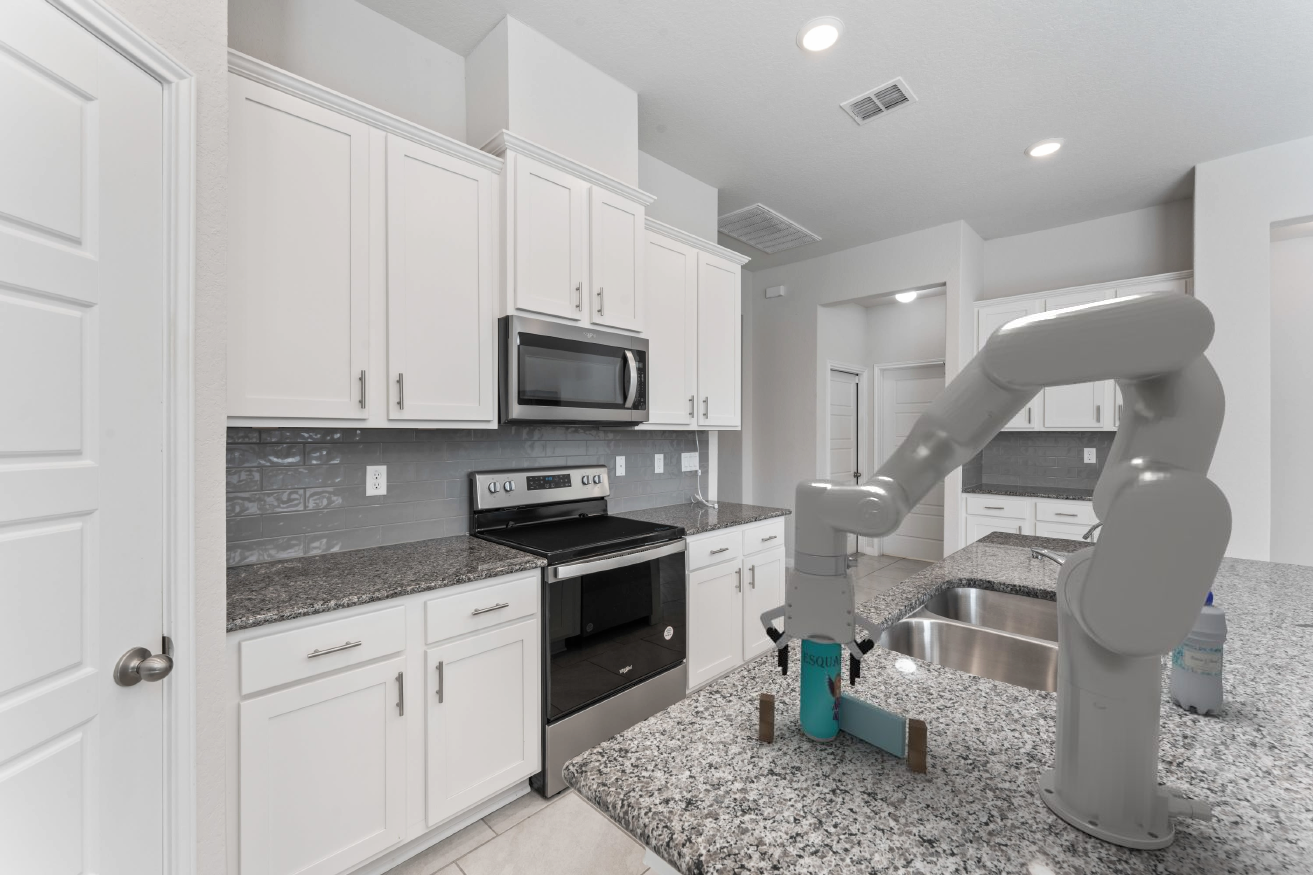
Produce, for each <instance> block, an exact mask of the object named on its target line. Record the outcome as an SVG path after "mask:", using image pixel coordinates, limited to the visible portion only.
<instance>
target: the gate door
mask: <svg viewBox="0 0 1313 875" xmlns="http://www.w3.org/2000/svg"><path fill="white" fill-rule="evenodd" d="M840 729H841V730H843V731H845V732H846V733H849V734H850V735H852V736H855V737H857V738H858V739H861V740H862V741H866V742H867V743H870V744H871V745H873V746H876V747H878V748H880V749H882V750H883V751H885V752H888V753H889V754H892V755H894V756H897V757H898V758H900V759H902V758H904V756H906V747H907V745H906V742H907V738H906V737H907V718H904V717H902V716H900V715H897V714H896V713H892V712H891V711H888V710H886V709H883V708H881V707H879V706H876V705H875V704H872V703H869V702H867V701H865V700H862V699H860V698H857V697H855V696H853V695H852V694H851V695H850V694H848V693H846V692H843V691H841V708H840V728H839V730H840Z"/></svg>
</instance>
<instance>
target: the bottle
mask: <svg viewBox="0 0 1313 875" xmlns="http://www.w3.org/2000/svg"><path fill="white" fill-rule="evenodd" d="M1213 604H1214V594H1213V592H1212V590H1210V592H1209V594H1208V597H1207V599H1206V602H1205V604H1204V607H1203V609H1202V611H1201V614H1200V616H1199V618H1198V621H1197V623H1196V625H1195V627H1194V629H1193V630H1192V632H1191V634H1190V635H1189V636H1188V638H1187V639H1186V640H1185V641H1184V642H1183V643H1182V644H1181V645H1180V646H1179V647H1178V648H1176V649H1175V650H1173V651H1172V652H1171V654H1172V655H1171V669H1170V670H1171V671H1170V676H1169V684H1168V685H1169V688H1168V690H1169V695H1170V698H1171V699H1170V700H1171V701H1172V702H1173V703H1174V704H1175V705H1177V706H1181V708H1182V709H1184V710H1185V711H1189V710H1190V709H1191V706H1193V707H1195V708H1196V711H1197V714H1199V715H1205V714H1206V713H1208V714H1209V715H1210V716H1213V715H1214V716H1215V715H1217V714H1219V712H1220V711H1221V709H1222V706H1223V702H1224V688H1223V687H1224V686H1223V685H1224V684H1223V669H1224V668H1223V667H1224V666H1223V663H1224V644H1225V642H1227V640H1228V638H1227V635H1228V632H1229V631H1228V627H1227V621H1226V613H1225V611H1224V610H1223V609H1221V608H1219V607H1217V606H1215V605H1213Z"/></svg>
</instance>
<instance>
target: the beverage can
mask: <svg viewBox="0 0 1313 875" xmlns="http://www.w3.org/2000/svg"><path fill="white" fill-rule="evenodd" d="M800 642H801V643H800V682H799V684H800V685H799V686H800V687H799V688H800V690H799V692H800V693H799V694H800V695H799V696H800V697H799V698H800V699H799V722H800V725H801V727H802V731H803V733H804V735H805V736H806V737H807V738H809V739H810V740H812V741H814V742H818V743H829V742H833V741H834V740H835V739H836V737H837V734H838V733H839V731H840V708H841V692H842V653H843V652H842V650H843V649H842V648H843V646H842V644H837V643H835V642H836V640H828V639H821V638H810V637H807V640H802V639H801V641H800Z"/></svg>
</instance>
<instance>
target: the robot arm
mask: <svg viewBox="0 0 1313 875" xmlns="http://www.w3.org/2000/svg"><path fill="white" fill-rule="evenodd" d="M1215 331H1216V322H1215V319H1214V316H1213V313H1212V312H1211V310H1210V309H1209V307H1208V306H1207V305H1206V304H1205V303H1204V302H1202V300H1200V299H1198V298H1196V297H1194V296H1193V295H1190V294H1187V293H1184V292H1179V291H1173V290H1153V291H1152V290H1151V291H1146V292H1141V293H1136V294H1135V293H1134V294H1129V295H1126V296H1120V297H1115V298H1111V299H1110V298H1109V299H1104V300H1100V301H1095V302H1090V303H1089V302H1088V303H1083V304H1080V305H1074V306H1070V307H1064V308H1059V309H1053V310H1048V311H1043V312H1036V313H1032V314H1031V313H1030V314H1027V315H1023V316H1019V317H1015V318H1012V319H1010V320H1007V321H1006V322H1004V323H1002V324H1001V325H999V326H998V327H997V328H995V330H993V332H991V334H990V335H989V336H988V337H987V340H986V342H985V344H984V345H983V347H982V348H981V349H980V350H979V351H978V352H977V353H976V355H975V356H973V358H972V359H971V360H970V361H969V362H968V363H967V364H966V365H965V366H964V367H963V368H962V369H961V371H960V372H958V374H957V375H956V376H955V377H954V378H953V379H952V380H951V381H950V382H949V383H948V385H947V386H946V387H945V388H944V389H942V391H941V392H940V393H939V394H938V395H937V396H936V397H935V399H933V401H931V402H930V404H928V406H927V407H925V409H924V410H923V411H922V412H921V414H919V416H918V418H917V419H916V421H915V422H914V424H913V426H912V428H911V430H910V432H909V434H907V435H906V437H905V439H904V440H903V441H902V442H901V444H900V445H899V446H898V447H897V448H896V450H894V452H893V453H892V454H891V455H890V456H889V457H888V458H887V459H886V461H884V463H883V464H882V465H881V466H880V467H879V468H878V469H877V470H876V471H875V472H874V473H873V474H872V476H870V478H868V479H867V480H866V481H865V482H864V483H861V484H851V485H850V484H845V483H844V482H842V481H840V480H835V479H827V478H826V479H825V478H809V479H803V480H800V481H799V482H798V483H797V484H796V487H795V497H794V498H795V499H794V500H795V501H794V502H795V503H794V551H793V566H791V567H789V569H788V574H787V579H786V586H785V597H784V604H782V605H779V606H777V607H774V608H772V609H769V610H767V611H764V612H762V613H761V614H760V616H759V620H760V623H761V625H762V627H763V629H764V630H765V632H766V633H765V634H766V635H767V636H768V638H770V640H771V641H772V642H773V644H775V647H776V648H777V668H781V676H783V677H786V676H787V675H788V671H789V647H790V645H789V642H790V641H791V640H793V639H796V640H801V641H802V640H807V637H810V638H821V639H828V640H836V642H835V643H837V644H841V645H844V646H846V648H847V649H848V650H849V671H848V672H849V673H848V674H849V685H851V687H856V679H861V664H862V663H861V661H862V659H863V657H864V656H865V655H866V654H868V653H869V652H870V651H871V650H873V649H874V648H875V645H876V644H877V642H878V641H879V639H880V638H881V636H882V634H883V630H882V627H881V626H880V625H878V624H876V623H874V622H873V621H871V620H870V619H867V617H866V618H865V617H864V616H863V615H861V614H860V613H858V612H857V611H856V595H855V586H854V579H853V574H852V572H850V571H849V569H852V568H858V564H859V562H858V561H859V560H858V557H853V556H850V554H848V534H852V535H855V536H857V537H858V536H859V537H863V538H868V539H882V538H887V537H889V536H891V535H893V534H894V533H896V531H897V530H898V529H899V528H900V527H901V525H902V523H903V521H904V520H905V518H906V517H907V516H908V515H909V513H911V512H912V511H913V509H915V508H916V507H917V505H918V504H919V503H920V502H921V501H923V500H924V499H925V498H926V496H928V494H929V493H930V492H931V491H932V490H934V489H935V488H936V486H938V484H940V482H942V481H943V480H944V479H945V478H946V477H948V476H949V475H950V474H951V473H952V472H953V471H955V470H956V469H958V468H959V467H961V466H963V465H964V464H967V463H968V462H969V461H971V460H972V459H973V458H974V457H975V456H976V455H978V454H979V453H980V452H981V451H982V450H983V449H984V448H985V447H986V446H987V445H988V444H989V443H990V442H991V441H992V440H993V439H994V438H995V437H996V436H997V435H998V434H999V433H1000V431H1002V430H1003V429H1004V428H1005V427H1006V426H1007V425H1008V424H1009V423H1010V422H1011V421H1012V420H1013V419H1014V418H1015V417H1016V416H1017V415H1018V414H1020V412H1021V411H1022V410H1023V409H1024V408H1025V407H1026V406H1027V405H1028V404H1029V403H1030V402H1031V401H1032V400H1033V399H1034V398H1035V397H1036V396H1037V395H1038V394H1039V393H1040V392H1041V391H1042V390H1043V389H1044V388H1051V387H1052V388H1053V387H1062V386H1070V385H1071V386H1072V385H1080V384H1086V383H1087V384H1088V383H1094V382H1095V383H1096V382H1101V381H1109V380H1113V381H1114V383H1116V385H1117V386H1118V388H1119V390H1120V394H1121V397H1122V410H1121V415H1120V419H1119V423H1118V425H1117V428H1116V433H1115V435H1114V439H1113V441H1112V444H1111V447H1110V450H1109V453H1108V454H1107V457H1106V460H1105V464H1104V467H1103V468H1102V471H1101V473H1100V475H1099V479H1098V481H1097V482H1096V485H1095V487H1094V490H1093V494H1092V498H1091V503H1092V511H1093V513H1094V515H1095V517H1096V519H1097V520H1098V521H1099V523H1100V524H1101V526H1100V527H1101V528H1100V530H1099V533H1098V536H1097V538H1096V542H1095V545H1091V546H1087V547H1083V548H1081V549H1078V550H1077V551H1075V552H1073V553H1071V555H1069V556H1068V557H1067V558H1066V559H1065V560H1064V561H1063V563H1062V564H1061V566H1060V568H1059V570H1058V574H1057V578H1056V608H1057V609H1056V610H1057V611H1056V612H1057V624H1058V625H1057V630H1058V631H1057V632H1058V633H1057V635H1058V636H1057V637H1058V639H1057V640H1058V642H1057V645H1058V646H1057V671H1056V672H1057V676H1056V702H1055V703H1056V705H1055V706H1056V707H1055V710H1056V711H1055V712H1056V713H1055V736H1054V738H1055V740H1054V768H1052V769H1049V770H1047V771H1045V772H1043V773H1041V775H1040V777H1039V778H1038V786H1037V787H1038V793H1039V796H1040V798H1041V799H1042V801H1043V802H1044V803H1045V804H1046V806H1047V807H1048V808H1050V810H1052V812H1053V813H1054V814H1056V815H1057V816H1059V817H1060V818H1061V819H1062V820H1064V821H1065V822H1067V823H1068V824H1070V825H1072V826H1073V827H1075V828H1076V829H1079V830H1080V831H1082V832H1085V833H1086V834H1088V835H1089V836H1090V835H1091V836H1093V837H1095V838H1097V839H1100V840H1102V841H1106V842H1108V843H1111V844H1114V845H1119V846H1121V847H1126V848H1132V849H1137V850H1150V851H1152V850H1160V849H1164V848H1167V847H1169V846H1171V845H1172V843H1173V842H1174V841H1175V836H1176V831H1175V830H1176V829H1175V824H1174V822H1173V820H1172V819H1177V818H1178V817H1180V816H1181V817H1186V818H1189V819H1193V820H1198V821H1203V822H1204V821H1205V822H1212V820H1213V812H1212V809H1211V807H1210V805H1209V804H1208V803H1207V802H1206V801H1202V800H1197V799H1192V798H1191V799H1190V798H1185V797H1184V793H1183V791H1182V789H1180V788H1179V787H1173V786H1167V785H1165V786H1163V785H1159V782H1158V781H1159V780H1158V779H1159V758H1160V757H1159V754H1160V732H1161V731H1160V727H1161V706H1162V705H1161V703H1162V702H1161V701H1162V699H1161V698H1162V684H1163V683H1162V681H1163V680H1162V679H1163V675H1162V674H1163V670H1162V669H1163V667H1162V666H1163V663H1162V657H1163V656H1164V655H1168V654H1169V653H1172V651H1173V650H1175V649H1176V648H1178V647H1179V646H1180V645H1181V644H1182V643H1183V642H1184V641H1185V640H1186V639H1187V638H1188V636H1189V635H1190V634H1191V632H1192V630H1193V629H1194V627H1195V625H1196V623H1197V621H1198V618H1199V616H1200V614H1201V611H1202V609H1203V607H1204V604H1205V602H1206V599H1207V597H1208V594H1209V592H1210V591H1211V588H1212V586H1213V584H1214V582H1215V579H1216V577H1217V574H1218V571H1219V569H1220V566H1221V564H1222V561H1223V559H1224V556H1225V554H1226V551H1227V548H1228V546H1229V543H1230V540H1231V535H1232V530H1233V516H1232V508H1231V505H1230V503H1229V501H1228V498H1227V496H1226V494H1225V493H1224V491H1223V490H1222V489H1221V488H1220V487H1219V485H1217V484H1216V483H1215V482H1214V481H1212V480H1211V479H1210V478H1209V477H1207V476H1208V472H1209V470H1210V467H1211V463H1212V461H1213V458H1214V454H1215V451H1216V449H1217V448H1216V447H1217V444H1218V441H1219V438H1220V436H1221V432H1222V427H1223V424H1224V419H1225V415H1226V414H1225V412H1226V397H1225V396H1226V395H1225V391H1224V387H1223V385H1222V381H1221V379H1220V377H1219V375H1218V373H1217V371H1216V369H1215V368H1214V366H1213V364H1212V363H1211V361H1210V360H1209V358H1208V357H1207V355H1205V352H1206V351H1207V349H1209V346H1210V345H1211V343H1212V341H1213V339H1214V336H1215ZM781 617H783V630H782V631H781V632H780V631H779V630H778V629H777V627H776V626H774V624H773V622H772V621H774V620H776V619H779V618H781ZM856 626H858V627H860V628H862V629H863V630H864V631H866V632H868V635H867V636H866V637H865V638H864V639H862V640H861V641H860V642H859V641H858V639H856Z"/></svg>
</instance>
